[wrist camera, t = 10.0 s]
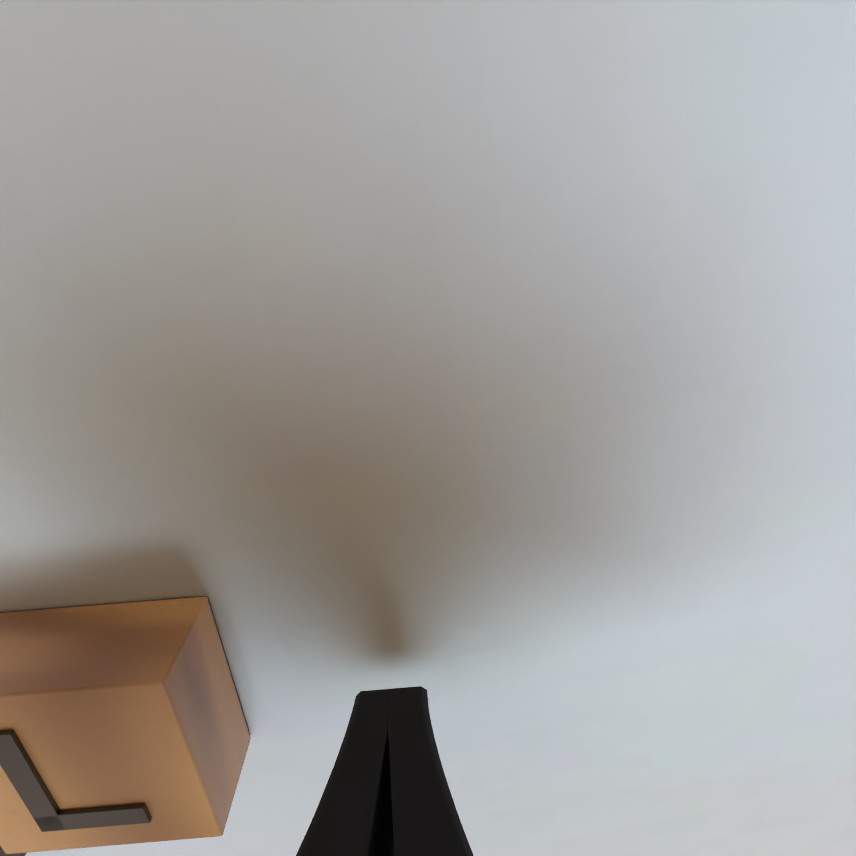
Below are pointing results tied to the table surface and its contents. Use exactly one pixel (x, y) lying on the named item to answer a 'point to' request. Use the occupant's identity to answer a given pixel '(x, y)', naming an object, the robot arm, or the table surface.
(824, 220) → the table surface
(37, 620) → the l tile
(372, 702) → the robot arm
